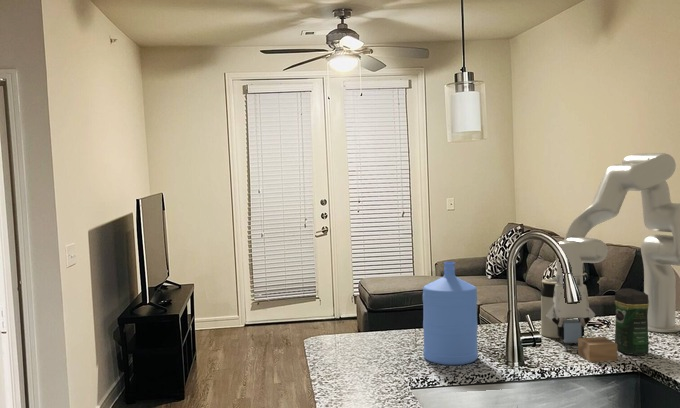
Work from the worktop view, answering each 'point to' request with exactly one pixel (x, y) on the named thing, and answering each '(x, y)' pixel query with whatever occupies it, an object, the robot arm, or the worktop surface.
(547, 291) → the travel mug
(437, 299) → the water jug
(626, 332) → the coffee jar
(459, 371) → the worktop surface
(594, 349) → the walnut block
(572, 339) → the blue block
